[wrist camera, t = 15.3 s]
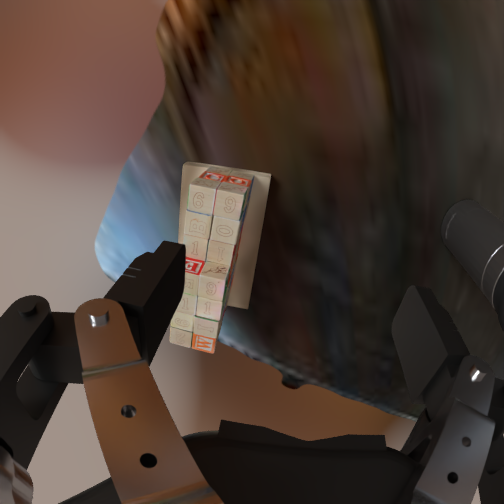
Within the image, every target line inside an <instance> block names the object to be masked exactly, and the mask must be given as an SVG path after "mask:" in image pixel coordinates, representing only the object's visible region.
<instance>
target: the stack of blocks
mask: <svg viewBox="0 0 504 504" xmlns="http://www.w3.org/2000/svg"><path fill="white" fill-rule="evenodd" d="M253 180H254V175H253V174H248V173H243V172H239V171H234V170H230V169H225V168H220V167H214V166H210V167H209V168H208V169H207V170H206V171H204V172H203V173H202V174H201V175H200V176H199V177H198V178H196V179H195V180H194V181H193V182H192V183H191V184H190V185H189V193H188V201H187V210H186V216H185V226H184V235H183V244H185V246H186V265H185V286H184V292H183V296H182V299H181V301H180V303H179V305H178V307H177V309H176V311H175V313H174V316H173V318H172V320H171V327H170V343H174V344H177V345H181V346H185V347H188V348H191V347H192V348H193V349H196V350H200V351H204V352H208V353H214V351H215V347H216V343H217V339H218V336H219V333H220V329H221V325H222V320H223V316H224V312H225V311H226V307H227V303H228V299H229V294H230V290H231V287H232V282H233V277H234V273H235V268H236V264H237V259H238V250H239V245H240V241H241V234H242V229H243V224H244V221H245V218H246V215H247V210H248V206H249V201H250V194H251V190H252V185H253Z"/></svg>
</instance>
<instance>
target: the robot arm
mask: <svg viewBox="0 0 504 504" xmlns="http://www.w3.org/2000/svg"><path fill="white" fill-rule="evenodd" d="M441 236H442V240H443V242H444V244H445V246H446V247H447V248H448V249H449V250H450V252H451V253H452V254H453V255H454V256H455V258H456V259H457V260H458V261H459V263H460V264H461V265H462V266H463V268H464V269H465V270H466V272H467V273H468V274H469V275H470V277H471V278H472V279H473V281H474V282H475V283H476V284H477V286H478V287H479V288H480V290H481V291H482V293H483V294H484V295H485V297H486V298H487V299H488V301H489V302H490V303H491V305H492V306H493V308H494V309H495V311H496V312H497V314H498V318H499V322H500V325H501V327H502V329H503V331H504V222H502V221H501V220H500V219H498V218H497V217H496V216H495V215H493V214H492V213H491V212H490V211H488V210H487V209H486V208H484V207H483V206H482V205H480V204H479V203H477V202H476V201H473V200H462V201H460V202H457V203H456V204H455V205H453V206H452V207H451V208H450V209H449V210H448V212H447V213H446V215H445V217H444V219H443V222H442V226H441ZM185 265H186V246H185V244H180V243H174V242H169V241H163V242H162V243H161V244H160V246H159V247H158V248H157V250H156V251H155V252H154V253H150V252H146V253H144V254H142V255H140V256H139V257H137V258H135V259H134V261H133V262H132V263H131V264H130V265H129V268H127V269H126V270H125V272H124V273H123V275H121V276H120V278H119V279H118V280H117V281H116V283H115V284H114V285H113V286H112V288H111V289H110V290H109V291H108V293H107V294H106V295H105V297H104V298H98V299H92V300H89V301H87V302H85V303H83V304H82V305H80V306H79V307H78V309H77V310H76V312H75V313H68V312H51V309H50V306H49V303H48V301H47V300H46V299H45V298H43V297H41V296H36V295H30V296H25V297H23V298H20V299H18V300H16V301H15V302H14V303H13V304H12V305H11V306H10V307H9V308H8V309H7V310H6V312H5V313H4V314H3V315H2V316H1V317H0V504H32V498H33V482H32V479H31V477H30V475H29V473H28V472H27V468H28V466H29V464H30V461H31V459H32V457H33V454H34V452H35V450H36V448H37V445H38V443H39V441H40V439H41V437H42V435H43V433H44V431H45V429H46V426H47V424H48V422H49V420H50V418H51V416H52V414H53V412H54V410H55V408H56V406H57V404H58V402H59V400H60V398H61V396H62V394H63V392H64V390H65V389H66V387H67V385H68V383H77V384H84V388H85V392H86V396H87V400H88V404H89V408H90V412H91V416H92V419H93V422H94V426H95V430H96V433H97V436H98V440H99V443H100V446H101V449H102V452H103V455H104V458H105V461H106V464H107V467H108V470H109V473H110V475H111V477H110V478H108V479H106V480H104V481H103V482H101V483H99V484H97V485H95V486H93V487H91V488H89V489H87V490H85V491H83V492H81V493H79V494H77V495H75V496H73V497H71V498H70V499H67V500H65V501H63V502H61V503H58V504H471V502H472V500H473V497H474V494H475V492H476V489H477V486H478V488H479V494H480V501H481V504H504V437H503V434H504V380H501V379H498V378H495V375H494V372H493V370H492V368H491V367H490V365H489V364H488V363H487V362H486V361H485V360H483V359H482V358H480V357H477V356H474V355H470V353H469V351H468V349H467V347H466V345H465V343H464V341H463V339H462V337H461V335H460V333H459V332H458V331H457V328H456V326H455V324H453V320H452V318H451V317H450V315H449V313H448V312H447V311H446V310H445V309H444V308H443V307H442V306H441V305H440V304H439V302H438V301H437V299H436V297H435V295H434V294H433V292H432V290H431V289H430V288H426V287H420V286H414V285H412V286H410V287H409V288H408V289H407V291H406V294H405V296H404V298H403V300H402V302H401V305H400V307H399V309H398V311H397V313H396V315H395V317H394V320H393V323H392V336H393V339H394V342H395V346H396V349H397V352H398V355H399V359H400V362H401V365H402V369H403V372H404V376H405V379H406V383H407V387H408V390H409V394H410V398H411V401H412V404H425V405H426V408H425V409H424V410H423V412H422V413H421V415H420V416H419V418H418V420H417V422H416V424H415V426H414V428H413V430H412V432H411V433H410V435H409V437H408V439H407V440H406V442H405V444H404V446H403V448H402V449H401V450H400V451H398V450H395V449H392V448H390V447H386V441H385V435H349V434H348V435H344V436H338V437H333V438H327V439H320V440H315V441H305V440H301V439H298V438H295V437H292V436H288V435H286V434H283V433H280V432H277V431H274V430H271V429H269V428H266V427H262V426H255V425H249V424H243V423H237V422H232V421H226V420H221V423H220V427H219V431H205V432H198V433H193V434H189V435H186V436H183V437H182V436H181V435H180V433H179V431H178V429H177V427H176V425H175V423H174V421H173V419H172V417H171V415H170V412H169V410H168V408H167V406H166V404H165V402H164V400H163V397H162V395H161V394H160V391H159V389H158V386H157V384H156V382H155V380H154V377H153V375H152V373H151V370H150V368H149V366H150V364H151V362H152V360H153V357H154V356H155V353H156V351H157V349H158V347H159V345H160V343H161V340H162V339H163V336H164V334H165V332H166V330H167V328H168V326H169V324H170V322H171V320H172V318H173V316H174V313H175V311H176V309H177V307H178V305H179V303H180V301H181V299H182V296H183V292H184V286H185ZM27 365H28V366H27ZM26 366H27V368H26ZM25 368H26V369H25ZM24 369H25V371H24ZM23 371H24V372H23ZM22 373H23V374H22ZM21 374H22V375H21ZM20 376H21V377H20ZM19 377H20V379H19ZM18 379H19V381H18ZM17 381H18V382H17Z"/></svg>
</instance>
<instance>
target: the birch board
mask: <svg viewBox="0 0 504 504" xmlns="http://www.w3.org/2000/svg"><path fill="white" fill-rule="evenodd" d="M210 166H214V167H220V168H225V169H230V170H234V171H239V172H243V173H248V174H253V175H254V180H253V185H252V190H251V194H250V201H249V206H248V210H247V215H246V218H245V221H244V224H243V229H242V234H241V241H240V245H239V250H238V259H237V264H236V268H235V273H234V277H233V282H232V287H231V290H230V294H229V299H228V303H227V305H228V306H233V307H238V308H244V309H248V306H249V301H250V295H251V289H252V283H253V278H254V272H255V266H256V260H257V255H258V249H259V243H260V237H261V232H262V226H263V220H264V214H265V208H266V202H267V197H268V191H269V185H270V179H271V174H267V173H261V172H255V171H249V170H243V169H237V168H230V167H223V166H216V165H209V164H202V163H194V162H186V163H185V164H183V171H182V185H181V200H180V218H179V240H178V243H180V244H183V235H184V226H185V216H186V210H187V201H188V193H189V185H190V184H191V183H192V182H193V181H194V180H195V179H196V178H198V177H199V176H200V175H201V174H202V173H203V172H204V171H206V170H207V169H208V168H209V167H210Z"/></svg>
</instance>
